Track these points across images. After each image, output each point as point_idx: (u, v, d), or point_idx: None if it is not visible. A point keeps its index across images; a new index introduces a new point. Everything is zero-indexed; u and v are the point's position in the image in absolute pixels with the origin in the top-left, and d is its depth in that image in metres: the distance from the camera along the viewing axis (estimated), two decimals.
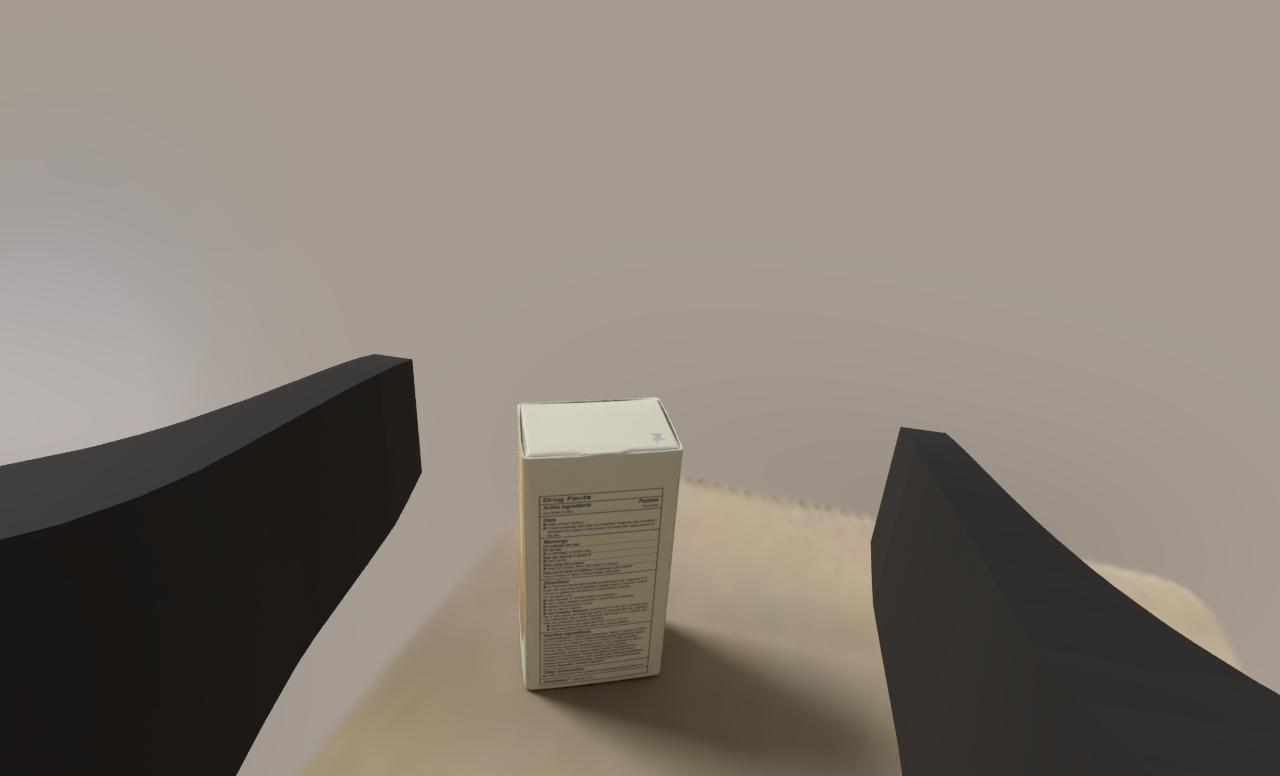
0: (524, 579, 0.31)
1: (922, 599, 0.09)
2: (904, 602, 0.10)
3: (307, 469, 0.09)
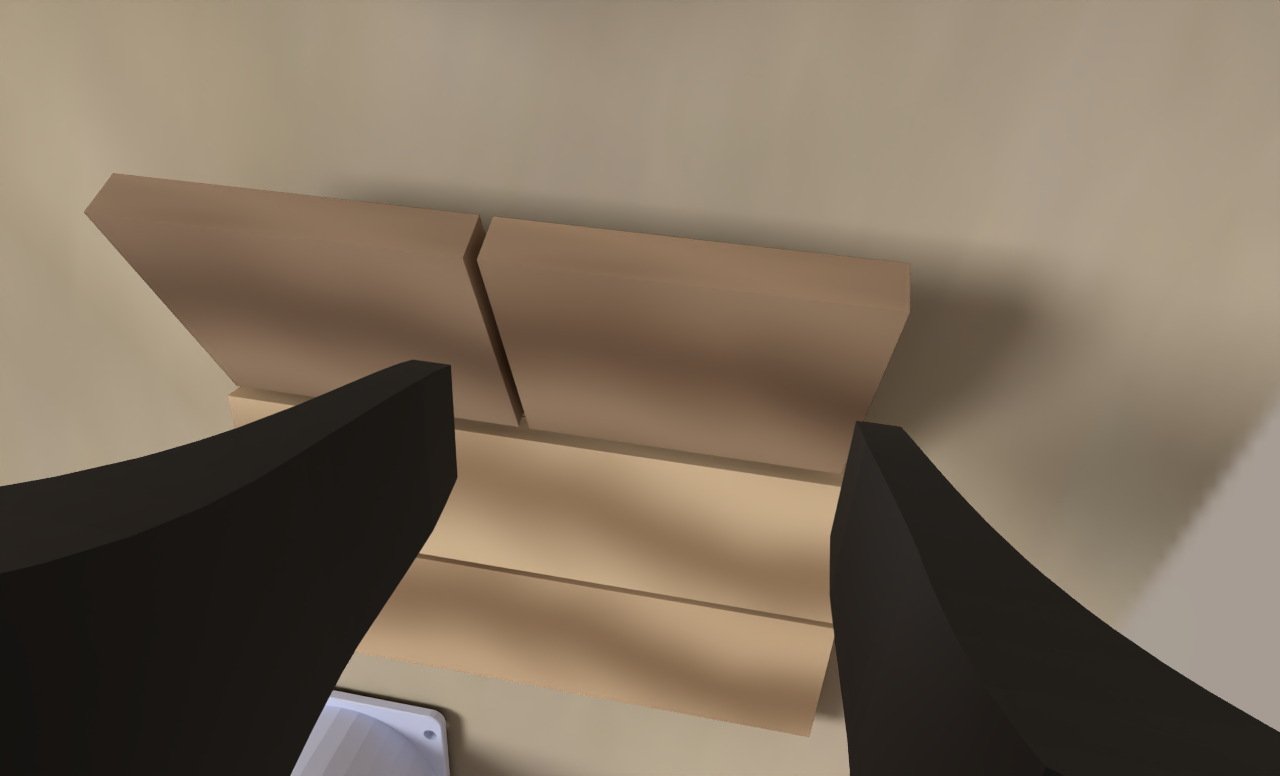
0: None
1: (868, 590, 0.09)
2: (854, 594, 0.10)
3: (354, 476, 0.09)
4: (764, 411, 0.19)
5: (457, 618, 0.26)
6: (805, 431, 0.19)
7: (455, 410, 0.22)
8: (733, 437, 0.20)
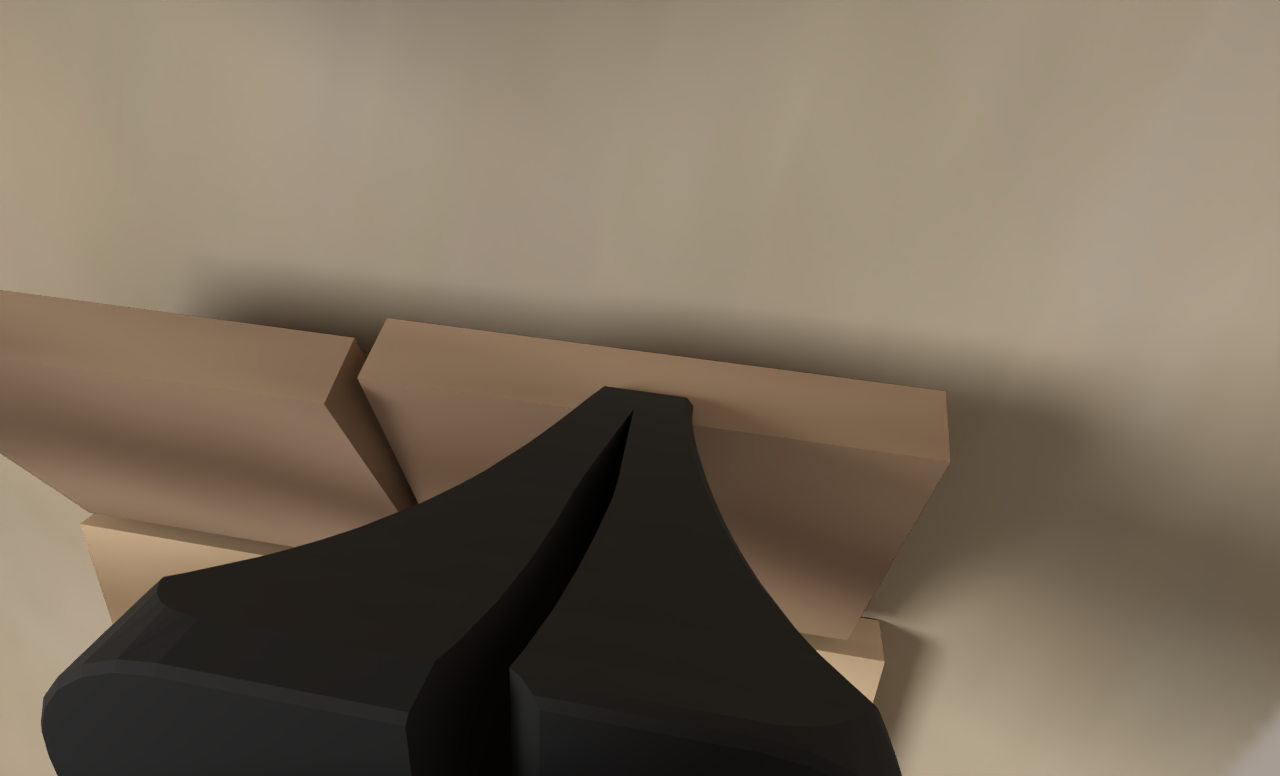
0: None
1: None
2: None
3: (592, 514, 0.09)
4: None
5: None
6: (802, 592, 0.15)
7: None
8: None
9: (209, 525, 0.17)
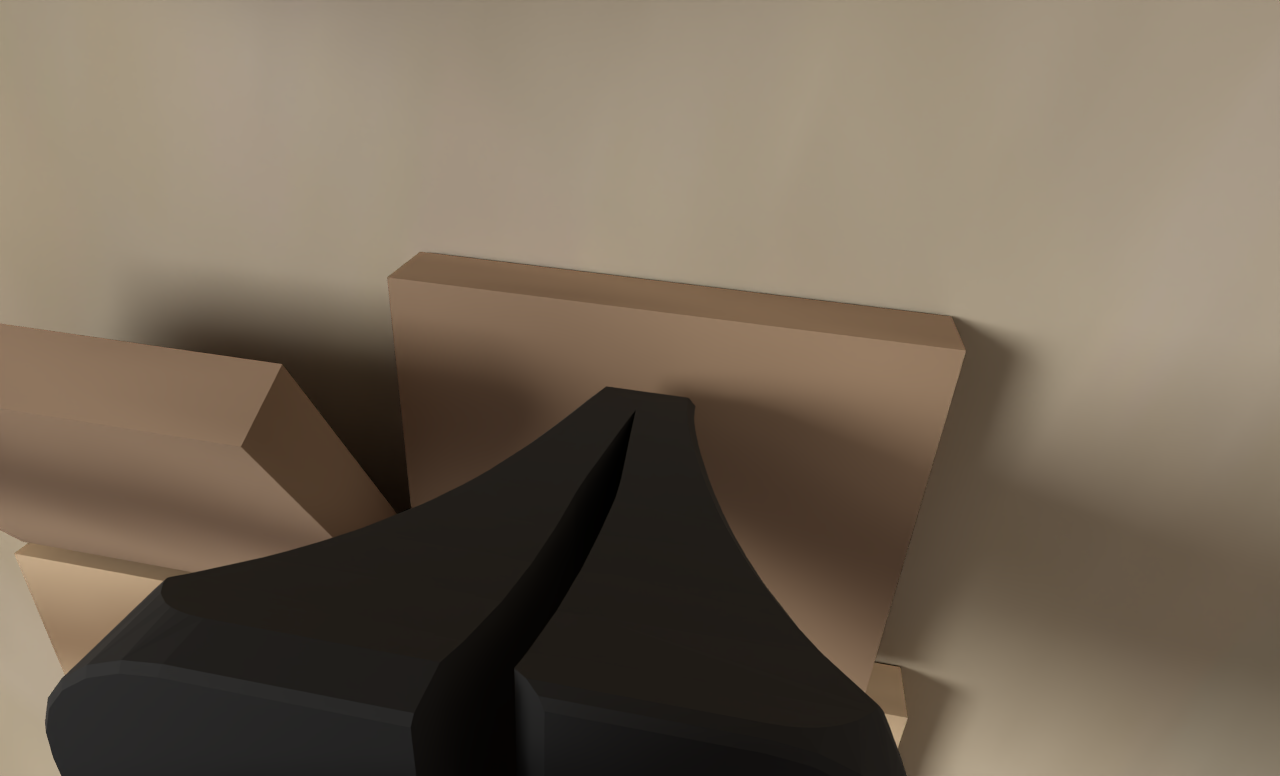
0: None
1: None
2: None
3: (595, 515, 0.09)
4: (759, 561, 0.13)
5: None
6: (815, 601, 0.13)
7: None
8: None
9: (151, 558, 0.16)
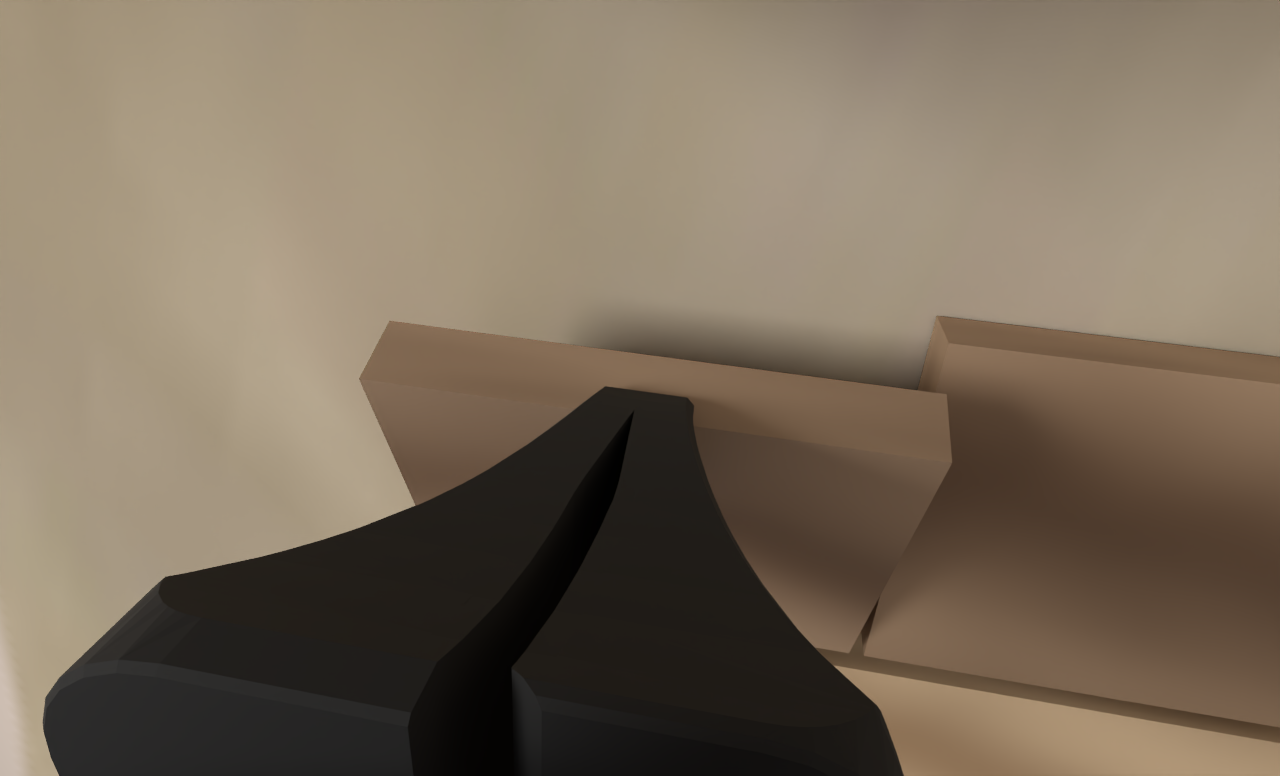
0: None
1: None
2: None
3: (593, 515, 0.09)
4: (1247, 608, 0.14)
5: None
6: None
7: None
8: (1178, 663, 0.15)
9: None
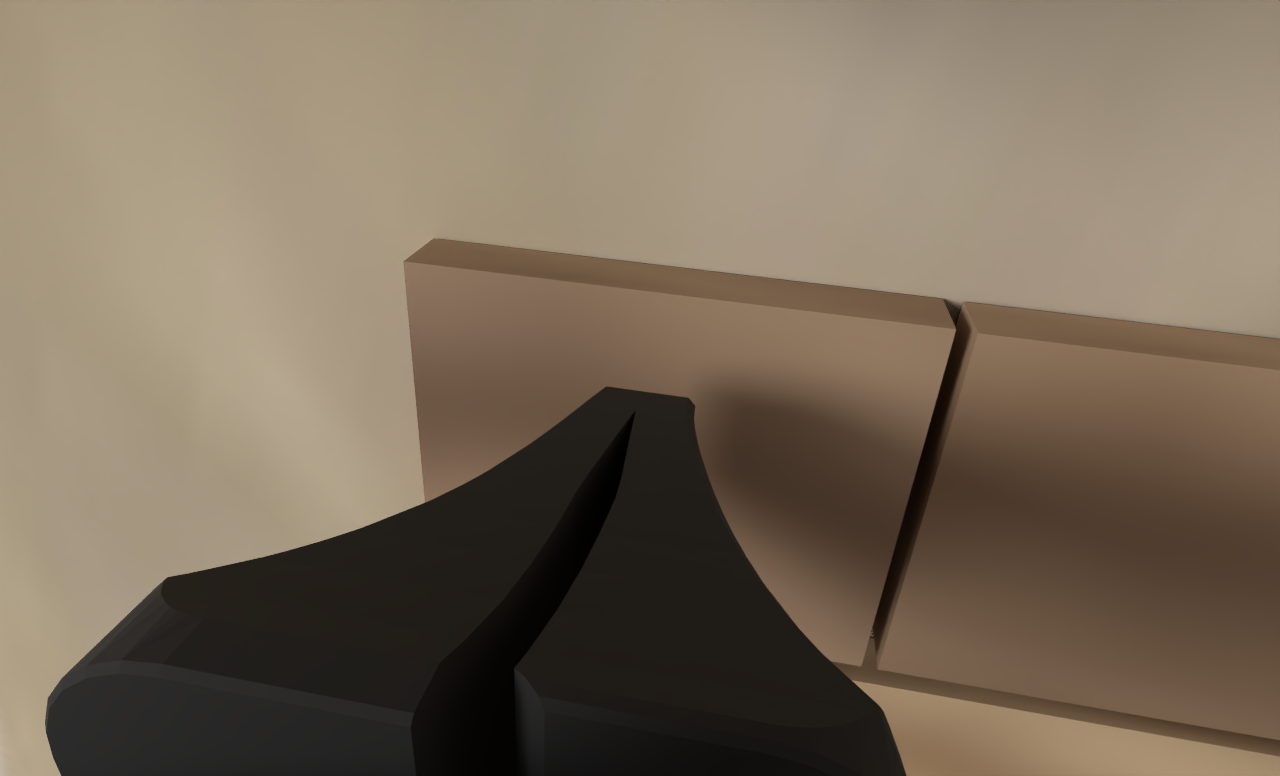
0: None
1: None
2: None
3: (595, 515, 0.09)
4: None
5: None
6: None
7: None
8: (1221, 680, 0.14)
9: None
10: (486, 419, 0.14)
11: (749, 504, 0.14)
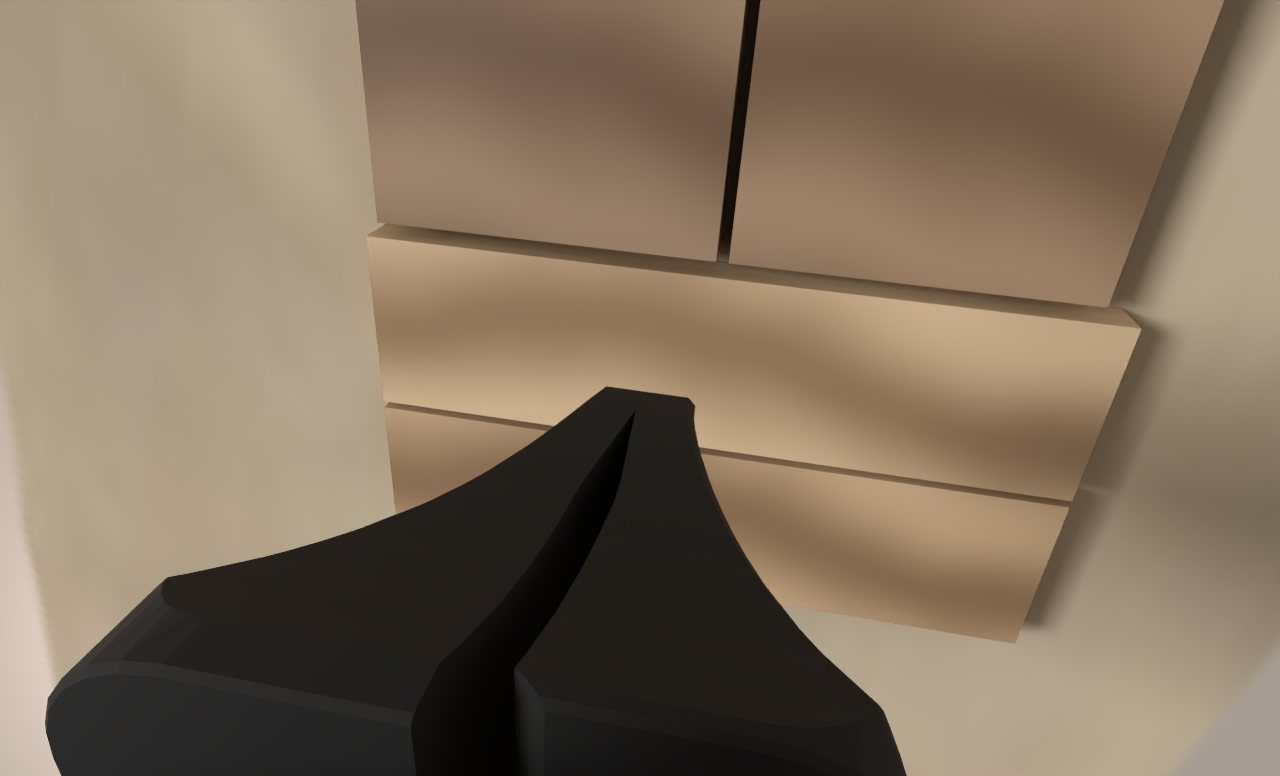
0: None
1: None
2: None
3: (595, 515, 0.09)
4: (1038, 176, 0.17)
5: None
6: (1079, 214, 0.17)
7: (645, 236, 0.19)
8: (987, 243, 0.17)
9: (504, 216, 0.19)
10: (413, 40, 0.17)
11: (617, 104, 0.17)
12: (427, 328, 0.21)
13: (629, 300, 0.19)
